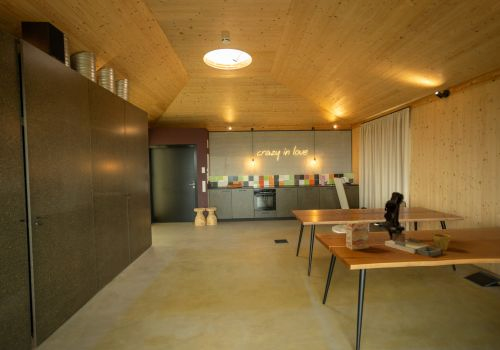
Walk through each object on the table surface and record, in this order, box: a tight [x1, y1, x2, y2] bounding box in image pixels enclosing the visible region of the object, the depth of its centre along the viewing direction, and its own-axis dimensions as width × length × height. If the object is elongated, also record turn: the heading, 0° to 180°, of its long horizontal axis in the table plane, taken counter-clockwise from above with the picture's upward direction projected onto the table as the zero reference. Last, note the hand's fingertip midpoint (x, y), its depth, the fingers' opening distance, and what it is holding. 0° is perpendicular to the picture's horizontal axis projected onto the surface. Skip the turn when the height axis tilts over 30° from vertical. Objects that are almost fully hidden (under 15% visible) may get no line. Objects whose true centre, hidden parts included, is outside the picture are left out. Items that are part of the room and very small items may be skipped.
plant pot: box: [432, 233, 452, 251], centre depth 189 cm, size 10×10×10 cm
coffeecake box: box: [345, 220, 370, 251], centre depth 194 cm, size 15×7×20 cm, turn 105°
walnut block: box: [391, 232, 406, 242], centre depth 198 cm, size 6×6×6 cm
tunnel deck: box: [384, 237, 443, 258], centre depth 189 cm, size 32×18×6 cm, turn 27°
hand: (391, 237), depth 204 cm, fingers closed
